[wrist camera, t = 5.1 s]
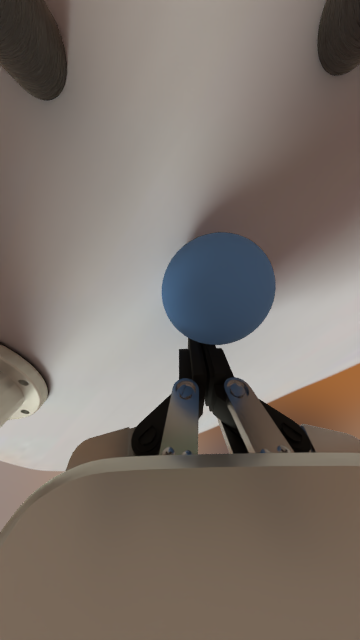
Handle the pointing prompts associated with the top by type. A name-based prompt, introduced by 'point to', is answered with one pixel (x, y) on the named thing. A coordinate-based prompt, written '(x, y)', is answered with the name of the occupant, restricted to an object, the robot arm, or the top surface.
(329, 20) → the post
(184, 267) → the ball
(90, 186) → the top surface
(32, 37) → the post
